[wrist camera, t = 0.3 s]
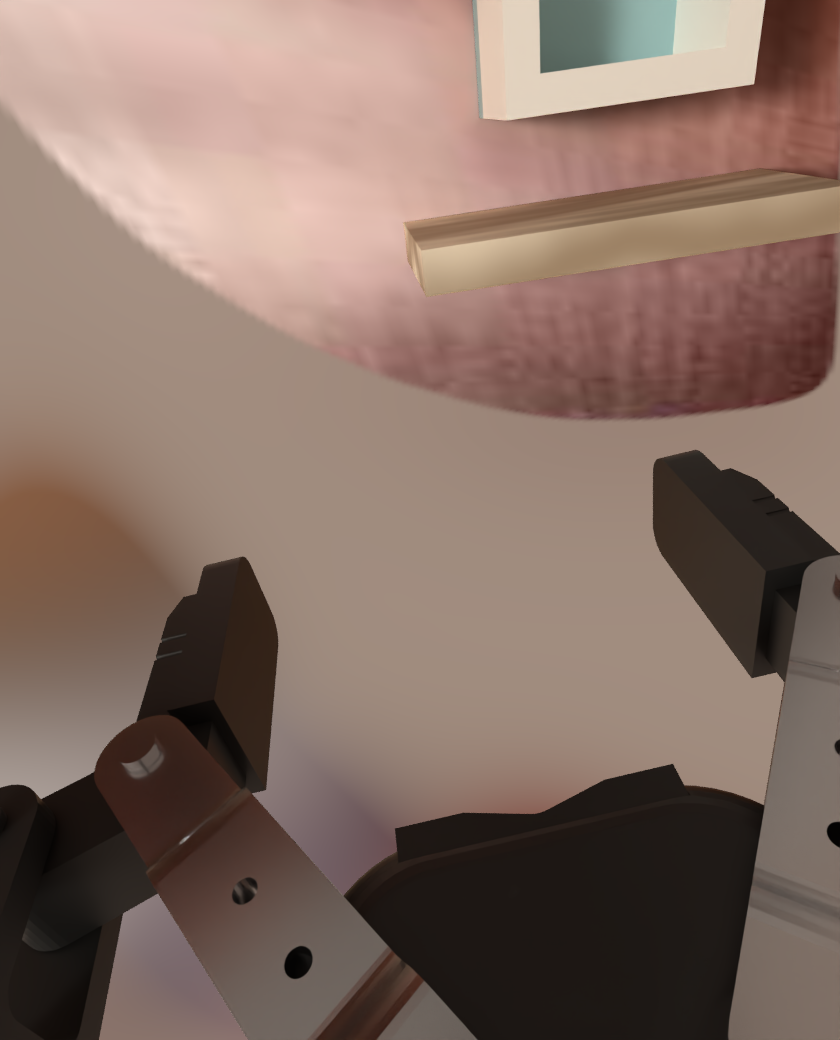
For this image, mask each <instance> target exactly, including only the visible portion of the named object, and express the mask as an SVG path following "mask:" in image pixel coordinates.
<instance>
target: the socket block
mask: <svg viewBox="0 0 840 1040" xmlns="http://www.w3.org/2000/svg"><path fill="white" fill-rule="evenodd" d="M472 3H473V19H474V36H475V53H476V70H477V86H478V103H479V118H484V119H495V120H506V121H507V120H514V119H521V118H528V117H535V116H541V115H548V114H555V113H562V112H569V111H575V110H582V109H589V108H596V107H603V106H609V105H616V104H623V103H630V102H637V101H643V100H650V99H657V98H664V97H671V96H677V95H684V94H691V93H698V92H705V91H711V90H718V89H725V88H732V87H739V86H745V85H752V84H754V81H755V73H756V66H757V58H758V51H759V44H760V36H761V29H762V21H763V14H764V7H765V0H472Z"/></svg>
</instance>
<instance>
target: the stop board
mask: <svg viewBox="0 0 840 1040" xmlns="http://www.w3.org/2000/svg"><path fill="white" fill-rule="evenodd" d="M403 224H404V232H405V240H406V249H407V257H408V262H409V264H410V266H411V268H412V270H413V272H414V274H415V276H416V278H417V280H418V281H419V283H420V285H421V287H422V289H423V291H424V293H425V295H426V297H429V296H436V295H442V294H448V293H455V292H461V291H468V290H474V289H480V288H487V287H493V286H500V285H506V284H512V283H519V282H525V281H532V280H538V279H545V278H551V277H557V276H564V275H570V274H577V273H583V272H589V271H596V270H602V269H609V268H615V267H621V266H628V265H634V264H641V263H647V262H653V261H660V260H666V259H673V258H679V257H686V256H692V255H698V254H705V253H711V252H718V251H724V250H730V249H737V248H743V247H750V246H756V245H762V244H769V243H775V242H782V241H788V240H794V239H801V238H807V237H814V236H820V235H826V234H833V233H839V232H840V180H834V179H828V178H821V177H814V176H808V175H801V174H794V173H787V172H781V171H774V170H767V169H761V168H760V169H754V170H747V171H741V172H734V173H727V174H721V175H714V176H708V177H701V178H694V179H688V180H681V181H675V182H668V183H661V184H655V185H648V186H642V187H635V188H629V189H622V190H615V191H609V192H602V193H596V194H589V195H582V196H576V197H569V198H563V199H556V200H549V201H543V202H536V203H530V204H523V205H517V206H510V207H503V208H497V209H490V210H484V211H477V212H470V213H464V214H457V215H451V216H444V217H437V218H431V219H424V220H418V221H411V222H405V223H403Z"/></svg>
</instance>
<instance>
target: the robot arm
mask: <svg viewBox="0 0 840 1040" xmlns="http://www.w3.org/2000/svg"><path fill="white" fill-rule="evenodd" d="M653 530H654V536H655V540H656V542H657V546H658V548H659V550H660V552H661V554H662V556H663V557H664V559H665V560H666V561H667V563H668V564H669V565H670V567H671V568H672V570H673V571H674V572H675V574H676V575H677V576H678V578H679V579H680V580H681V582H682V583H683V584H684V586H685V587H686V589H687V590H688V591H689V593H690V594H691V596H692V597H693V598H694V600H695V601H696V602H697V604H698V605H699V607H700V608H701V609H702V611H703V612H704V613H705V615H706V616H707V618H708V619H709V620H710V621H711V623H712V624H713V626H714V627H715V628H716V630H717V631H718V633H719V634H720V635H721V637H722V638H723V639H724V640H725V642H726V644H727V645H728V646H729V648H730V649H731V650H732V652H733V653H734V655H735V656H736V657H737V659H738V660H739V661H740V663H741V664H742V665H743V667H744V668H745V669H746V671H747V672H748V674H749V675H750V676H751V678H754V677H759V676H763V675H767V674H771V673H776V672H777V673H778V674H779V676H780V677H781V678H782V680H783V681H784V682H785V683H784V689H783V694H782V700H781V706H780V712H779V718H778V724H777V730H776V736H775V742H774V748H773V754H772V759H771V765H770V771H769V777H768V783H767V789H766V795H765V800H764V805H762V804H760V803H757V802H755V801H753V800H751V799H748V798H745V797H743V796H739V795H737V794H734V793H731V792H727V791H722V790H718V789H713V788H707V787H700V786H685V785H684V784H683V782H682V781H681V779H680V777H679V775H678V773H677V771H676V769H675V768H674V765H673V764H671V765H666V766H662V767H657V768H653V769H650V770H645V771H640V772H636V773H632V774H627V775H623V776H619V777H615V778H610V779H606V780H603V781H601V782H600V783H598V784H596V785H594V786H592V787H590V788H588V789H586V790H584V791H582V792H580V793H579V794H577V795H575V796H573V797H571V798H569V799H567V800H565V801H563V802H562V803H560V804H558V805H556V806H554V807H552V808H550V809H548V810H546V811H544V812H541V813H537V814H499V813H498V814H497V813H461V814H456V815H452V816H448V817H443V818H439V819H435V820H430V821H426V822H422V823H418V824H413V825H409V826H405V827H400V828H396V829H395V833H396V843H397V852H396V853H394V854H392V855H390V856H388V857H387V858H385V859H384V860H382V861H381V862H379V863H378V864H376V865H375V866H374V867H372V868H371V869H370V870H369V871H368V872H366V873H365V874H364V875H363V876H362V877H361V878H359V880H357V882H356V883H355V884H354V885H353V886H352V887H351V888H350V889H349V890H348V891H347V892H346V893H345V895H344V896H343V895H342V894H341V893H340V892H339V891H338V889H337V888H336V887H335V886H334V885H333V884H332V883H331V882H330V881H329V879H328V878H327V877H326V876H325V875H324V874H323V873H322V872H321V870H320V869H319V868H318V867H317V866H316V865H315V864H314V863H313V862H312V861H311V859H310V858H309V857H308V856H307V855H306V854H305V853H304V851H303V850H302V849H301V848H300V847H299V846H298V845H297V844H296V842H295V841H294V840H293V839H292V838H291V837H290V836H289V835H288V834H287V832H286V831H285V830H284V829H283V828H282V827H281V826H280V825H279V823H278V822H277V821H276V820H275V819H274V818H273V817H272V816H271V814H269V812H268V811H267V810H266V809H265V808H264V807H263V805H262V804H260V802H259V801H258V800H257V799H256V798H255V797H254V796H253V794H252V793H255V792H260V791H264V790H266V784H267V772H268V760H269V748H270V737H271V725H272V713H273V701H274V689H275V676H276V666H277V653H278V634H277V628H276V624H275V620H274V617H273V615H272V612H271V610H270V608H269V605H268V603H267V601H266V599H265V596H264V594H263V592H262V590H261V588H260V585H259V583H258V581H257V579H256V576H255V574H254V572H253V569H252V567H251V565H250V563H249V561H248V560H247V559H246V558H245V557H239V558H235V559H231V560H227V561H222V562H218V563H214V564H209V565H206V566H205V567H204V568H203V571H202V575H201V579H200V583H199V587H198V591H197V594H195V595H190V596H186V597H183V599H182V600H181V601H180V602H179V604H178V605H177V606H176V608H175V609H174V610H173V612H172V613H171V614H170V615H169V617H168V618H167V621H166V625H165V628H164V631H163V635H162V638H161V640H162V643H160V645H159V648H158V651H157V655H156V658H157V660H155V661H154V665H153V668H152V671H151V675H150V678H149V681H148V685H147V688H146V692H145V695H144V698H143V701H142V705H141V708H140V711H139V715H138V718H137V721H136V722H135V723H133V724H131V725H130V726H128V727H126V728H125V729H123V730H122V731H121V732H120V733H118V734H117V735H116V736H115V737H114V738H113V739H112V740H111V741H110V742H109V743H108V744H107V746H106V747H105V748H104V750H103V751H102V753H101V754H100V756H99V758H98V760H97V763H96V766H95V771H94V772H93V773H91V774H90V775H88V776H86V777H84V778H82V779H80V780H78V781H76V782H74V783H72V784H70V785H68V786H66V787H64V788H63V789H60V790H58V791H56V792H54V793H53V794H51V795H49V796H47V797H45V798H43V799H40V798H39V797H38V795H37V794H36V793H35V792H34V791H33V790H32V789H30V788H29V787H26V786H24V785H9V786H5V787H1V788H0V1040H99V1036H100V1030H101V1025H102V1020H103V1015H104V1009H105V1004H106V999H107V994H108V989H109V983H110V978H111V973H112V968H113V962H114V957H115V951H116V947H117V942H118V937H119V931H120V926H121V921H122V916H123V913H124V912H126V911H128V910H130V909H131V908H133V907H135V906H137V905H138V904H140V903H142V902H144V901H145V900H147V899H149V898H151V897H152V896H154V895H156V894H159V896H160V898H161V899H162V901H163V903H164V904H165V906H166V907H167V909H168V910H169V912H170V914H171V916H172V917H173V919H174V920H175V922H176V924H177V925H178V926H179V928H180V930H181V932H182V933H183V935H184V937H185V938H186V940H187V941H188V943H189V945H190V946H191V948H192V950H193V951H194V953H195V955H196V956H197V958H198V959H199V961H200V963H201V964H202V966H203V968H204V969H205V971H206V972H207V974H208V976H209V977H210V979H211V981H212V982H213V984H214V985H215V987H216V989H217V990H218V992H219V994H220V995H221V997H222V998H223V1000H224V1002H225V1003H226V1005H227V1007H228V1008H229V1010H230V1011H231V1013H232V1014H233V1016H234V1018H235V1020H236V1021H237V1023H238V1024H239V1026H240V1028H241V1029H242V1031H243V1032H244V1034H245V1036H246V1037H247V1039H248V1040H840V553H839V552H838V551H836V550H835V549H834V548H833V547H832V546H831V545H830V544H829V543H828V542H826V541H825V540H824V539H823V538H822V537H821V536H820V535H819V534H817V533H816V532H815V531H814V530H813V529H812V528H811V527H810V526H809V525H807V524H806V523H805V522H804V521H803V520H802V519H801V518H800V517H798V516H797V515H796V514H795V513H794V512H793V511H792V512H790V511H789V508H788V507H787V506H786V505H785V504H784V503H783V502H782V501H781V500H779V499H778V498H776V499H775V496H774V494H773V493H772V492H770V491H769V490H768V489H767V488H766V487H765V486H764V485H763V484H762V483H760V482H759V481H758V480H757V479H754V478H752V477H750V476H748V475H745V474H743V473H741V472H738V471H736V470H734V469H731V468H730V469H726V470H722V471H720V470H719V469H718V468H717V467H716V466H715V465H714V464H713V463H712V462H711V461H710V460H709V459H708V458H707V457H705V455H704V454H703V453H701V452H700V451H698V450H693V451H689V452H685V453H680V454H676V455H672V456H668V457H664V458H660V459H657V460H656V461H655V463H654V468H653Z"/></svg>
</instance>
